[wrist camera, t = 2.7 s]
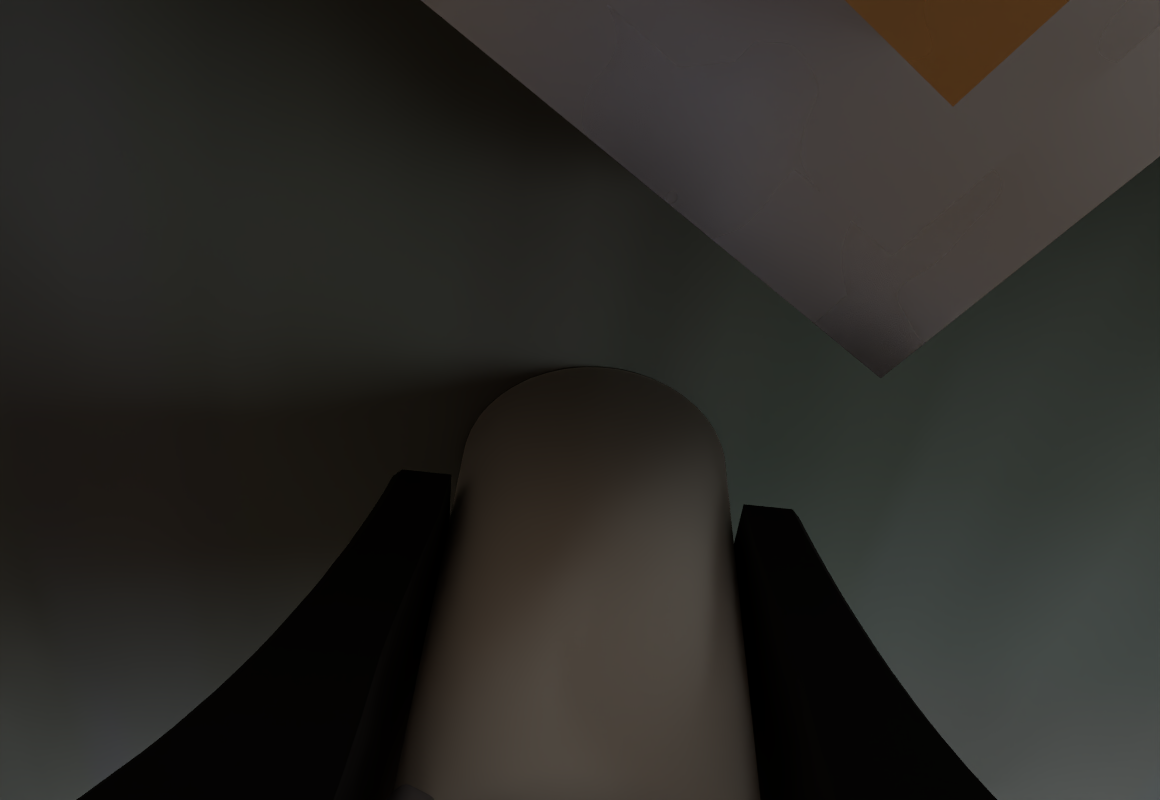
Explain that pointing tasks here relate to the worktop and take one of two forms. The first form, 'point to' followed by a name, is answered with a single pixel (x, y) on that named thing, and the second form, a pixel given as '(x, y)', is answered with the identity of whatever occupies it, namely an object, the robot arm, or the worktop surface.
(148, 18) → the worktop surface
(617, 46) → the housing
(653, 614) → the canister
